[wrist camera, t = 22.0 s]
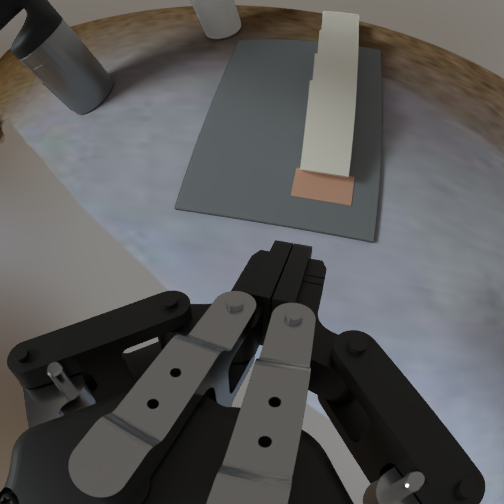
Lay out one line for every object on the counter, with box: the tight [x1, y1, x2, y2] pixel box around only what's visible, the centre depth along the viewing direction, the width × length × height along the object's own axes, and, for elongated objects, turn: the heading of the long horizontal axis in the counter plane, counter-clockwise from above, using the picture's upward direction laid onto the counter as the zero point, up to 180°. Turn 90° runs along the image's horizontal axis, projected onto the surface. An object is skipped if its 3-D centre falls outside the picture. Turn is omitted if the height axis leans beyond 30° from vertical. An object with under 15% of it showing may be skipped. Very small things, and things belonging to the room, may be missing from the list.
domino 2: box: [318, 30, 359, 71], centre depth 31 cm, size 5×2×10 cm
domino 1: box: [322, 11, 359, 34], centre depth 32 cm, size 5×2×10 cm
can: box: [190, 0, 241, 39], centre depth 36 cm, size 6×6×12 cm
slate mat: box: [174, 39, 382, 243], centre depth 34 cm, size 22×30×1 cm
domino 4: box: [300, 80, 357, 178], centre depth 29 cm, size 5×2×10 cm
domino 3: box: [312, 53, 358, 86], centre depth 30 cm, size 5×2×10 cm
